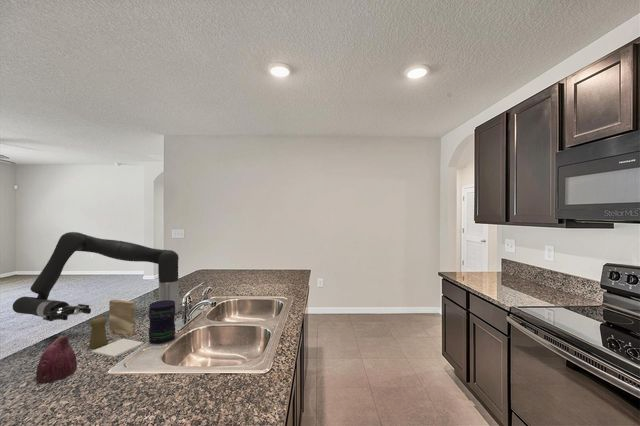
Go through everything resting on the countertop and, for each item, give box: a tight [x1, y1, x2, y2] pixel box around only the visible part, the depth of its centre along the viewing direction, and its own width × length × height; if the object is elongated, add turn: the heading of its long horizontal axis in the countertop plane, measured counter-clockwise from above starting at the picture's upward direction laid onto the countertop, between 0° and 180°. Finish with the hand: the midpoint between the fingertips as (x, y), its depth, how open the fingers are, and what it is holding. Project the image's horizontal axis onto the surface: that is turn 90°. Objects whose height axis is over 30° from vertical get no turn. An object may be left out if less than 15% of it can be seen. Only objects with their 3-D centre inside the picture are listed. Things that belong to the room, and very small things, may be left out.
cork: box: [88, 316, 109, 350], centre depth 116 cm, size 6×6×11 cm
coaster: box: [91, 338, 145, 358], centre depth 114 cm, size 12×12×1 cm
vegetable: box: [35, 333, 78, 384], centre depth 96 cm, size 10×10×15 cm
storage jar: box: [148, 300, 176, 345], centre depth 123 cm, size 10×10×15 cm
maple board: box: [106, 299, 138, 338], centre depth 129 cm, size 4×13×14 cm, turn 71°
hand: (78, 314), depth 120 cm, fingers open, 8 cm apart
